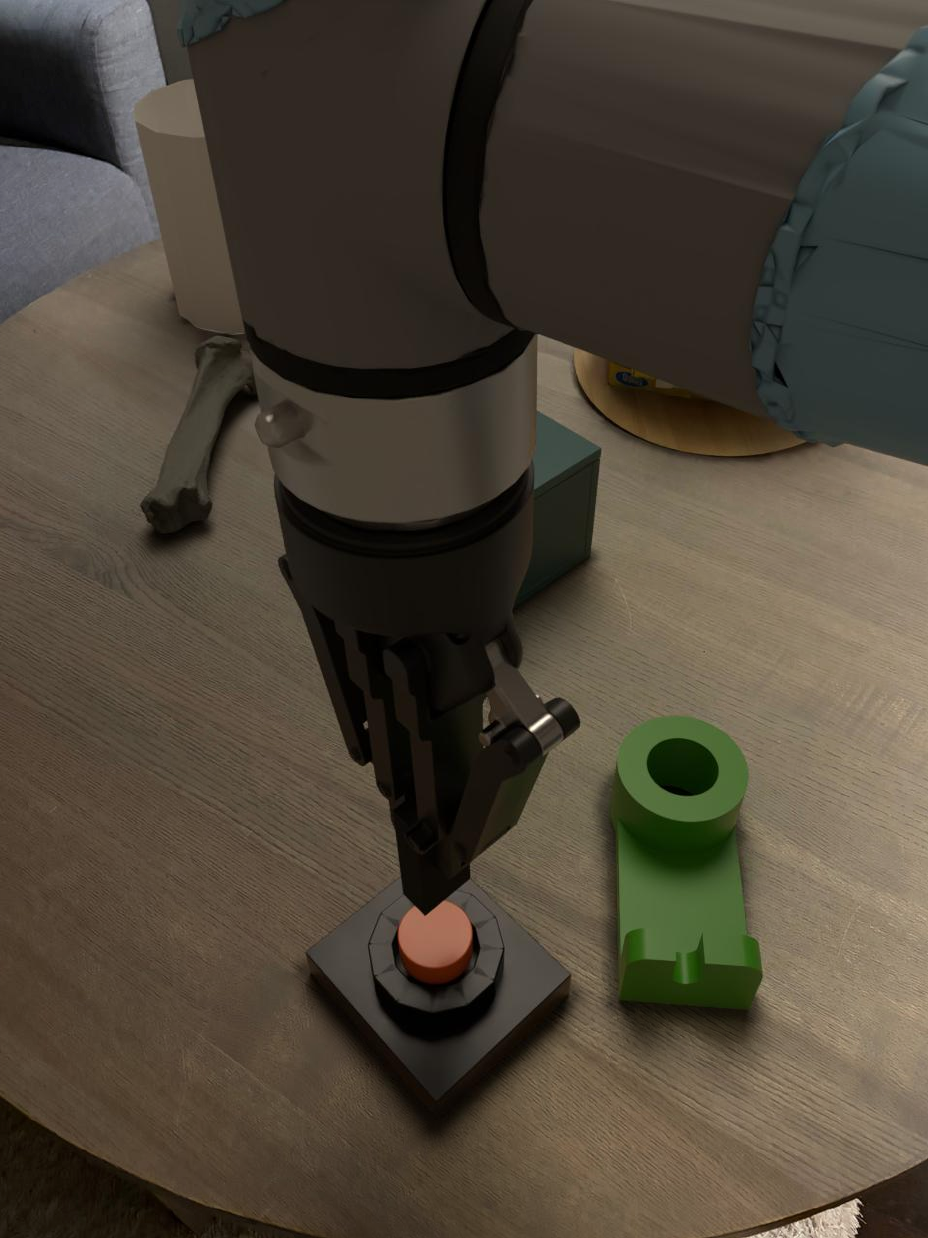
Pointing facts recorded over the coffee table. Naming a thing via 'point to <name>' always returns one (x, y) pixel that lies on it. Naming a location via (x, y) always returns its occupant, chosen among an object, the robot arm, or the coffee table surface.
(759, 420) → the paper stack
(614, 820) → the green ring bracket
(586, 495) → the tin
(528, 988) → the control block
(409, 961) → the button
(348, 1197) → the coffee table surface
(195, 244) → the container
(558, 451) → the tin lid
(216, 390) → the bone
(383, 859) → the coffee table surface
